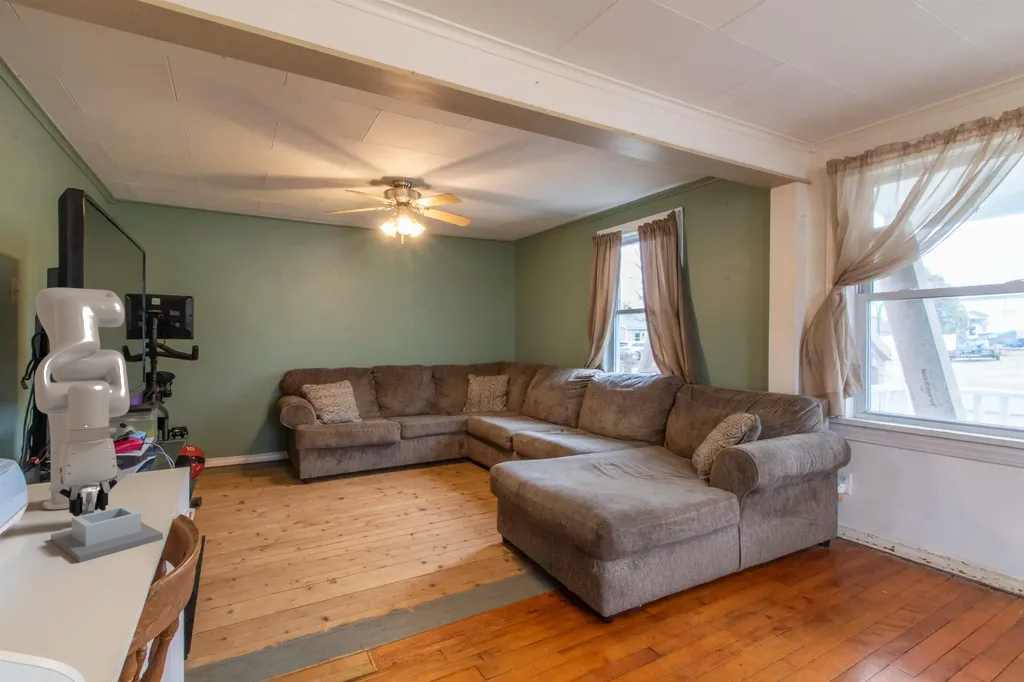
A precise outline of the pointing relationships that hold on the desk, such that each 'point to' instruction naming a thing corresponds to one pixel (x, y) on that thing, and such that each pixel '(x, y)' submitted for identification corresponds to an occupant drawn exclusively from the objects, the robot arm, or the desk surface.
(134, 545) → the housing
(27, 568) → the desk surface
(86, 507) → the milkshake
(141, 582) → the desk surface
